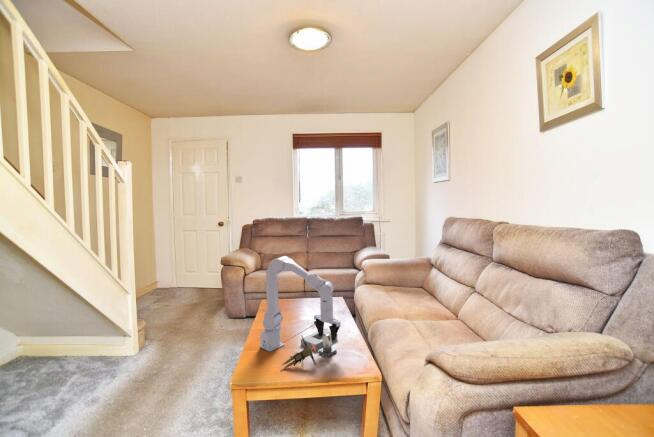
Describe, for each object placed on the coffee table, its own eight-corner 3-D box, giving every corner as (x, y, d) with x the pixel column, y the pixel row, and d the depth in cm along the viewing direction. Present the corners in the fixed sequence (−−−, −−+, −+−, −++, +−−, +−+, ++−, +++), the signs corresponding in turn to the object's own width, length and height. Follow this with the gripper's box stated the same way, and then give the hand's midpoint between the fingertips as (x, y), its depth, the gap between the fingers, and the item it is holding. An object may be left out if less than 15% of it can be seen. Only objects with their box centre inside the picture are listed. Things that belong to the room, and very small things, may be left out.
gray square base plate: (328, 357, 135) (328, 354, 135) (318, 353, 139) (318, 350, 139) (336, 352, 139) (336, 349, 139) (326, 348, 143) (326, 345, 143)
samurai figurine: (293, 383, 129) (333, 358, 133) (290, 385, 120) (333, 357, 124) (276, 348, 135) (316, 324, 139) (273, 347, 126) (315, 322, 130)
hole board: (315, 351, 141) (315, 344, 141) (300, 345, 148) (300, 338, 148) (337, 339, 153) (337, 333, 153) (322, 334, 160) (322, 328, 160)
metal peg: (327, 352, 136) (327, 337, 136) (321, 350, 139) (320, 335, 138) (333, 349, 139) (333, 334, 139) (326, 347, 142) (326, 332, 141)
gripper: (344, 309, 137) (345, 339, 137) (320, 303, 146) (321, 331, 146) (334, 313, 131) (335, 344, 132) (310, 307, 141) (311, 336, 141)
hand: (327, 338), depth 139 cm, fingers open, 7 cm apart
